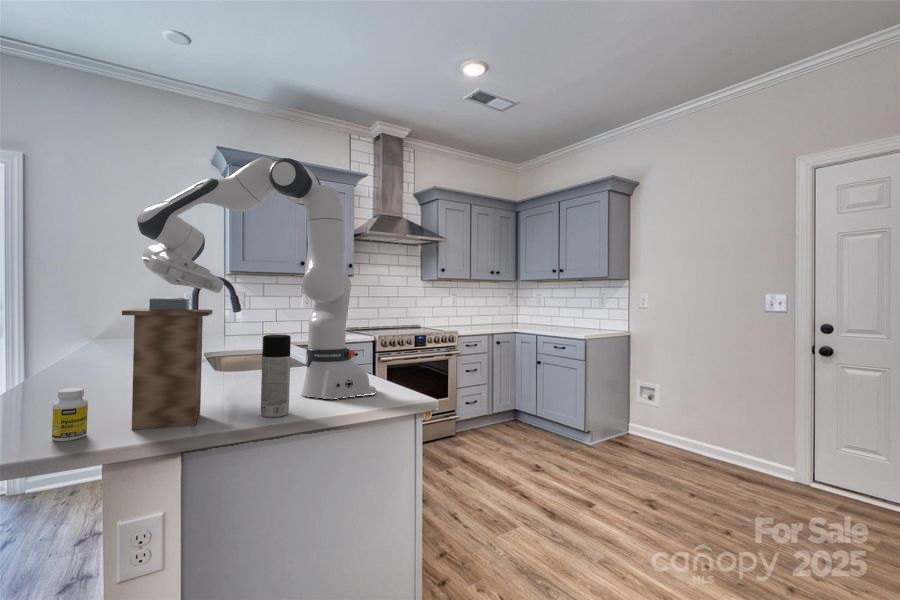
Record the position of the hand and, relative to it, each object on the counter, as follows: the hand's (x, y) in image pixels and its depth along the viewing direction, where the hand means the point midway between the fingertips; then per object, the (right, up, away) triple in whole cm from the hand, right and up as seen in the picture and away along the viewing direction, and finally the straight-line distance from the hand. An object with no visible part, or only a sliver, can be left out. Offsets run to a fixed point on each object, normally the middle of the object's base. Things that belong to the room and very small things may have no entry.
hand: (199, 282), depth 121 cm
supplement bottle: (-8, -33, -32) cm, 47 cm away
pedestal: (+4, -33, -20) cm, 39 cm away
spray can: (+25, -34, -11) cm, 44 cm away
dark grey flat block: (+3, -7, -15) cm, 16 cm away
